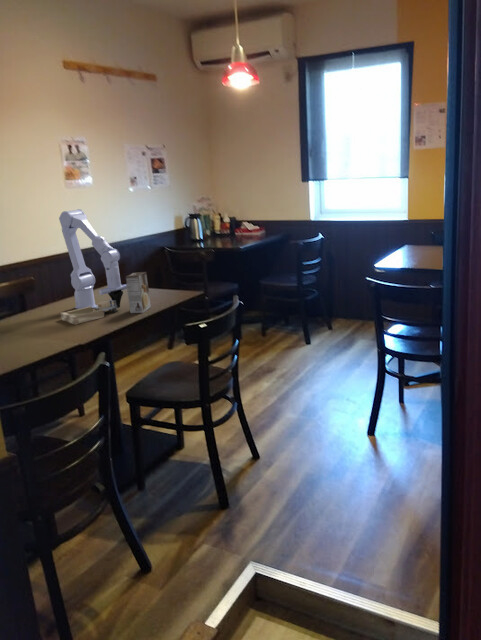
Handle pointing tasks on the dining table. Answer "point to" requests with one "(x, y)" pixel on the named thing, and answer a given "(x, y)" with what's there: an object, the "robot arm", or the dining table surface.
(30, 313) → the dining table surface
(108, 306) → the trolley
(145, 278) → the coffee box
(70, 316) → the dock bay
